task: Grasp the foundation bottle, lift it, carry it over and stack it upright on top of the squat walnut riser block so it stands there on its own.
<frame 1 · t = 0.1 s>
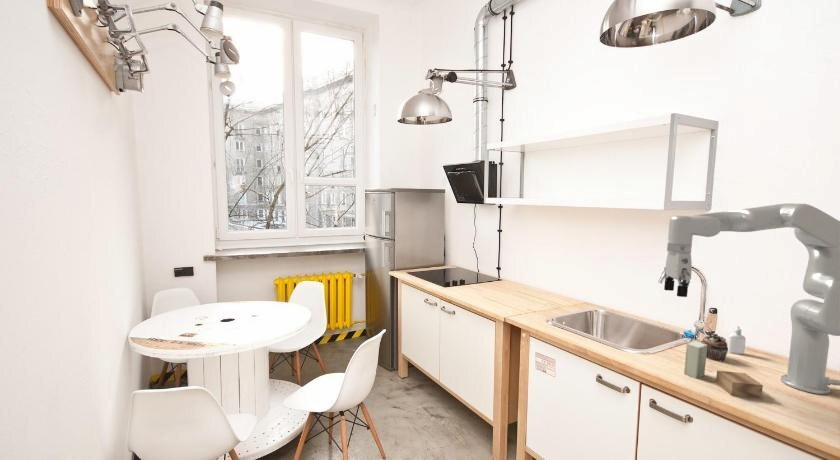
hand: (675, 293, 143), 31 cm above the worktop, fingers open, 9 cm apart
eye dropper bottle: (735, 353, 167), on the worktop
cupcake: (712, 357, 162), on the worktop
skincare box: (694, 375, 144), on the worktop
walnut riser: (737, 391, 133), on the worktop
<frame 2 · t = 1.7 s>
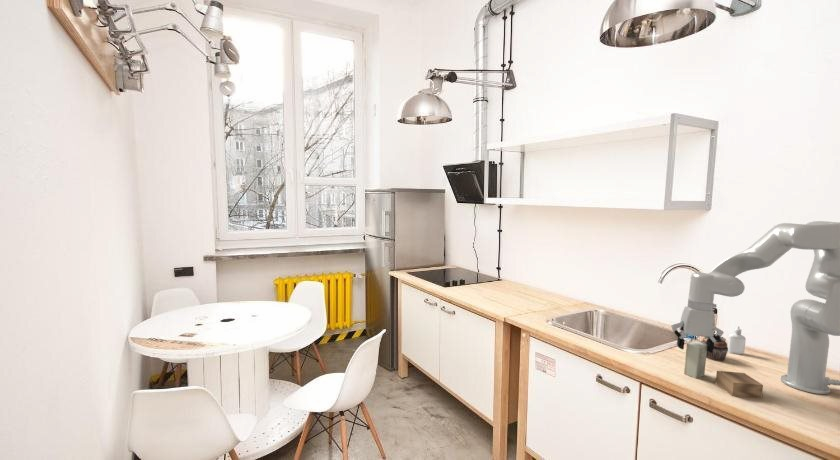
hand: (694, 349, 144), 10 cm above the worktop, fingers open, 9 cm apart
nothing on the worktop moved.
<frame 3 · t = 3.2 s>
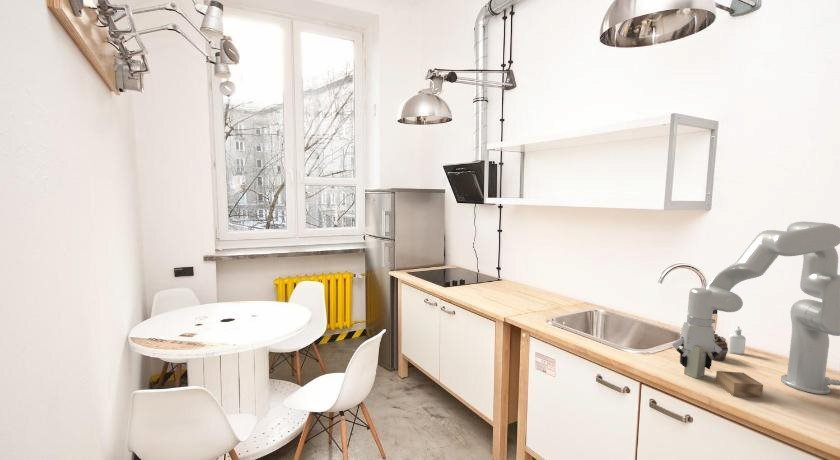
hand: (695, 366, 144), 3 cm above the worktop, fingers closed on skincare box, 7 cm apart
skincare box: (694, 375, 144), on the worktop, touching gripper
everything else where it was.
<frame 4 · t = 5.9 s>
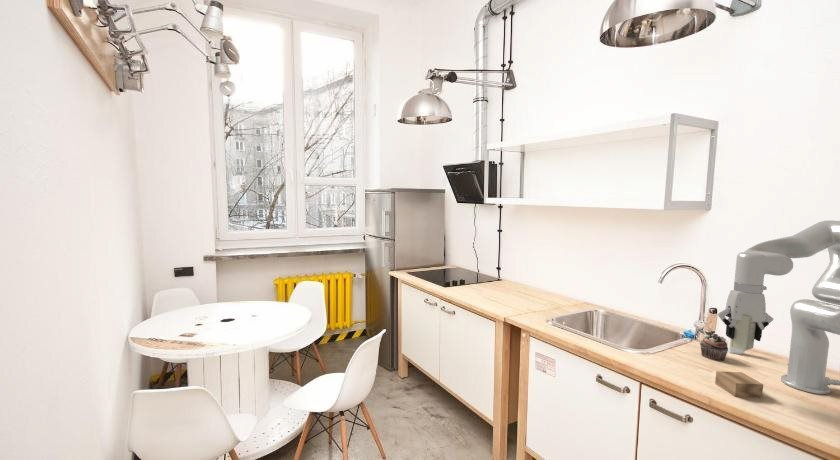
hand: (742, 338, 131), 19 cm above the worktop, fingers closed on skincare box, 7 cm apart
skincare box: (742, 348, 132), point 15 cm above the worktop, touching gripper
everything else where it was.
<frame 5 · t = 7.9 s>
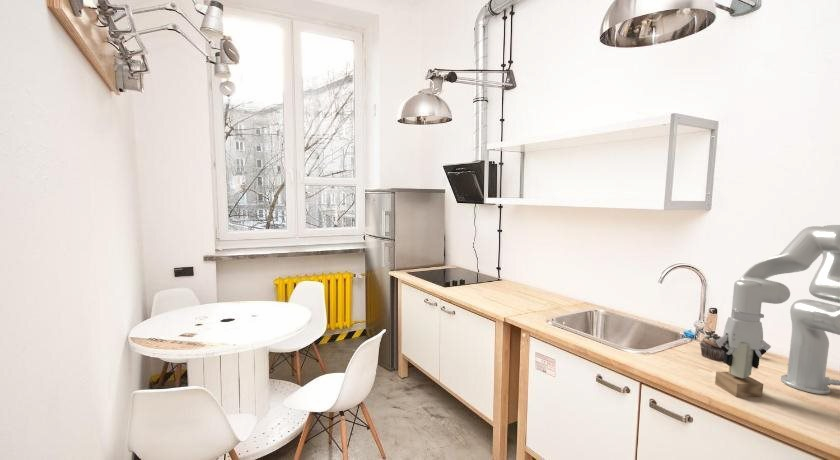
hand: (740, 365, 132), 9 cm above the worktop, fingers closed on skincare box, 7 cm apart
skincare box: (739, 375, 133), point 6 cm above the worktop, touching gripper
everything else where it was.
when the fingers open (9 cm above the worktop, at t = 8.5 s): skincare box moves 1 cm, resting on walnut riser.
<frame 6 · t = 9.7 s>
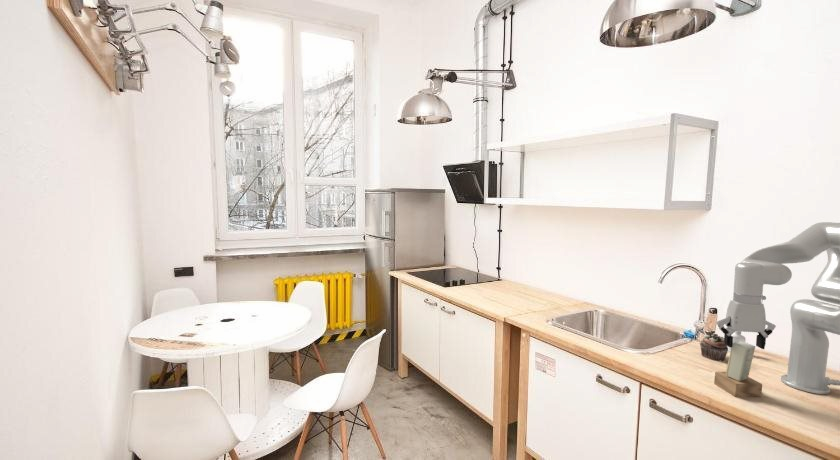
hand: (744, 346, 132), 16 cm above the worktop, fingers open, 9 cm apart
skincare box: (736, 377, 133), point 5 cm above the worktop, touching gripper, walnut riser
walnut riser: (736, 391, 133), on the worktop, touching skincare box
everything else where it was.
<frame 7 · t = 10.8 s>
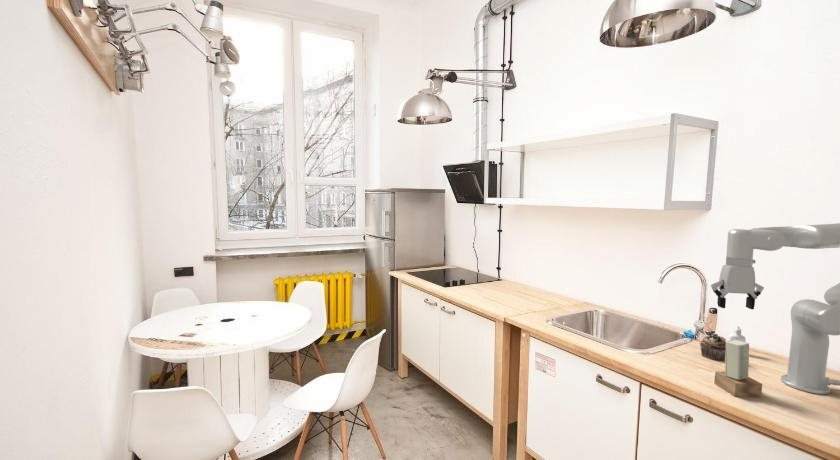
hand: (735, 307, 141), 27 cm above the worktop, fingers open, 9 cm apart
skincare box: (736, 377, 133), point 5 cm above the worktop, touching walnut riser
everything else where it was.
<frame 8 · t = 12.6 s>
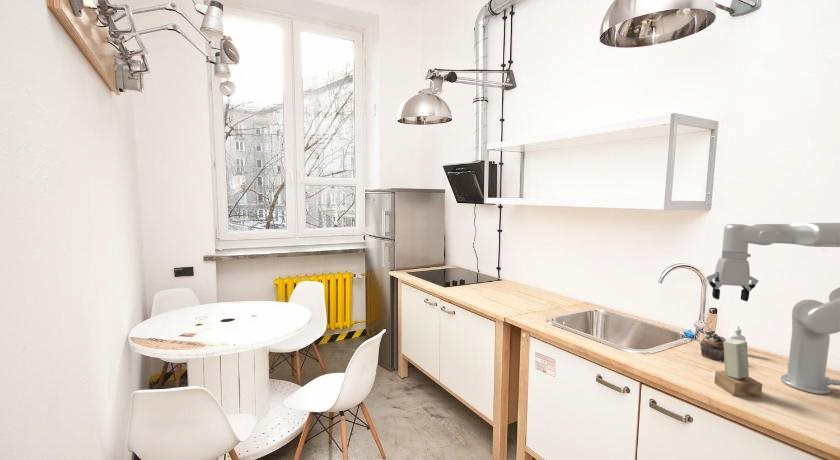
hand: (729, 299, 147), 28 cm above the worktop, fingers open, 9 cm apart
nothing on the worktop moved.
at the end: skincare box inside the target area on the walnut riser (0.4 cm from its centre), point 5.1 cm above the walnut riser's base; skincare box tilted 7°; the gripper is holding nothing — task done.
